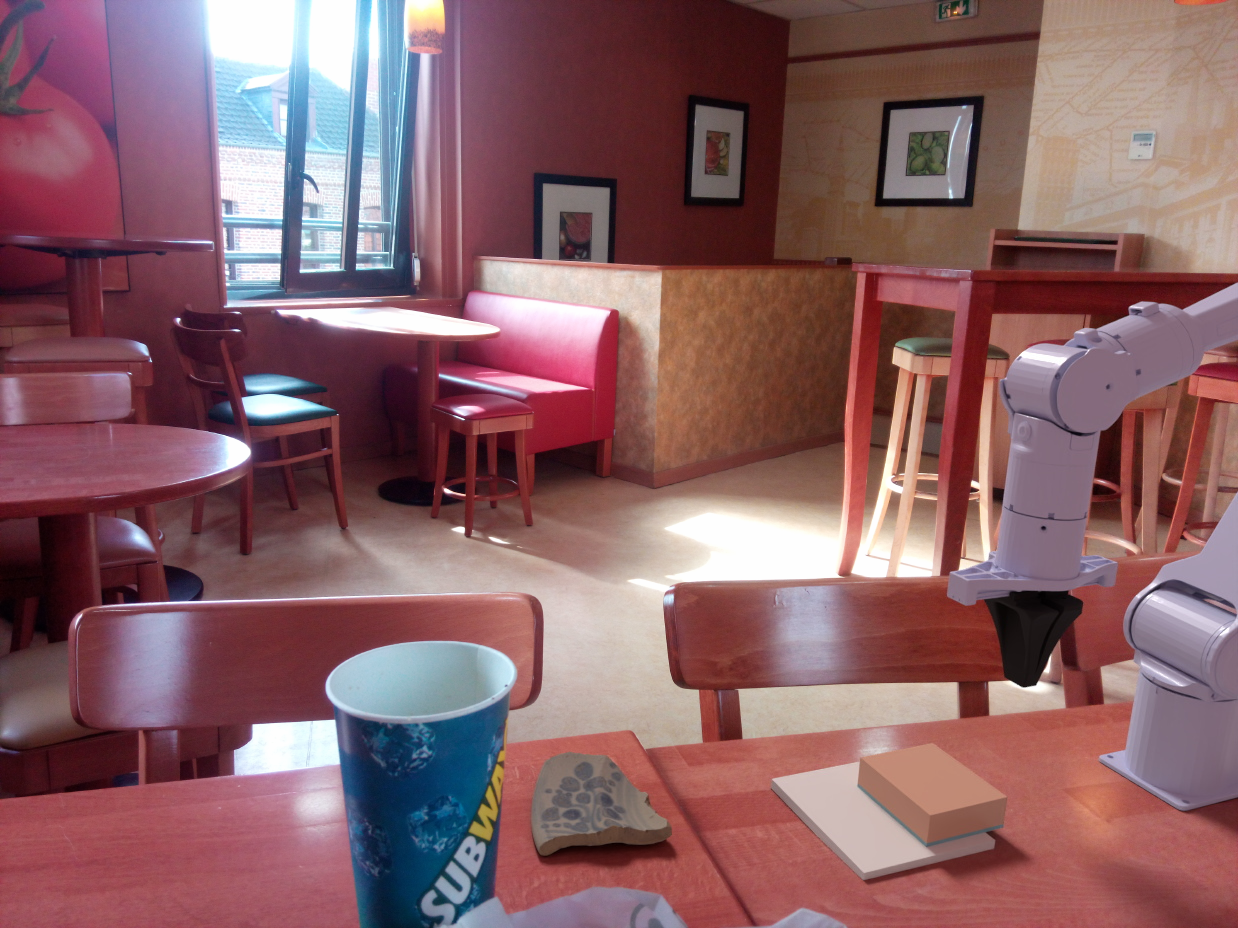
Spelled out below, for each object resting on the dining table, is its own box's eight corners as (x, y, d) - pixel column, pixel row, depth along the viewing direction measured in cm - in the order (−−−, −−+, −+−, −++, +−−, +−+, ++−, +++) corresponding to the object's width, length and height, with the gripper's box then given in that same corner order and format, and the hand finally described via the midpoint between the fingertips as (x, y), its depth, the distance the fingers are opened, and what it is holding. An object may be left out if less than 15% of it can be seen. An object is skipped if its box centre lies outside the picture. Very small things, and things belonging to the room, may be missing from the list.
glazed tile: (932, 742, 74) (860, 757, 72) (1007, 796, 67) (930, 815, 64) (929, 770, 75) (857, 786, 72) (1003, 827, 67) (926, 846, 65)
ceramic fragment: (675, 842, 63) (531, 820, 62) (667, 880, 64) (524, 859, 63) (666, 753, 73) (542, 734, 73) (659, 787, 74) (536, 769, 74)
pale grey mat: (888, 764, 77) (889, 755, 77) (993, 849, 66) (995, 839, 66) (770, 787, 73) (771, 778, 73) (862, 883, 62) (863, 872, 62)
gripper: (1073, 490, 74) (1050, 648, 77) (928, 502, 69) (908, 671, 72) (1152, 514, 68) (1123, 685, 71) (998, 528, 62) (973, 713, 65)
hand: (1020, 681), depth 71 cm, fingers closed
